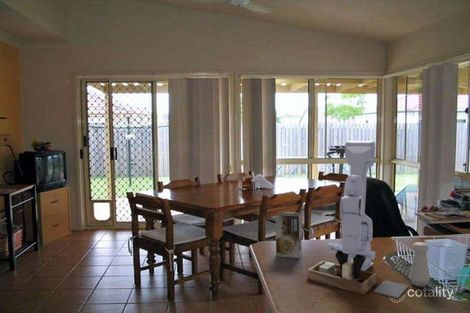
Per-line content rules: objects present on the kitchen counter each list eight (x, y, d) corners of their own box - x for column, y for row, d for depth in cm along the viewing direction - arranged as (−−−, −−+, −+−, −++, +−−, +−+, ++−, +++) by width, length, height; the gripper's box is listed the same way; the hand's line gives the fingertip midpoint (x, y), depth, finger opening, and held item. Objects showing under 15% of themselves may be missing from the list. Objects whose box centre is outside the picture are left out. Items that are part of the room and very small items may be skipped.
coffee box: (302, 253, 151) (302, 212, 150) (299, 258, 145) (299, 216, 143) (278, 250, 154) (278, 210, 152) (275, 256, 148) (275, 214, 146)
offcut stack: (327, 272, 133) (327, 260, 132) (337, 274, 130) (337, 263, 130) (317, 278, 127) (318, 267, 127) (328, 281, 125) (328, 269, 125)
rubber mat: (384, 281, 124) (385, 280, 124) (408, 287, 120) (408, 285, 120) (373, 292, 116) (373, 290, 116) (397, 298, 112) (397, 297, 112)
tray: (322, 268, 135) (322, 260, 135) (376, 282, 123) (376, 273, 123) (307, 278, 127) (307, 269, 126) (363, 294, 115) (363, 284, 115)
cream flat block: (352, 278, 127) (352, 257, 126) (358, 280, 125) (358, 258, 125) (341, 286, 121) (342, 264, 120) (348, 288, 119) (348, 266, 119)
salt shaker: (420, 289, 118) (422, 247, 117) (404, 282, 123) (406, 242, 122) (433, 285, 121) (435, 244, 119) (418, 278, 126) (419, 239, 124)
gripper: (323, 232, 123) (323, 274, 124) (369, 241, 114) (368, 286, 115) (333, 227, 128) (333, 268, 130) (378, 235, 119) (377, 278, 121)
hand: (350, 276), depth 123 cm, fingers open, 3 cm apart
